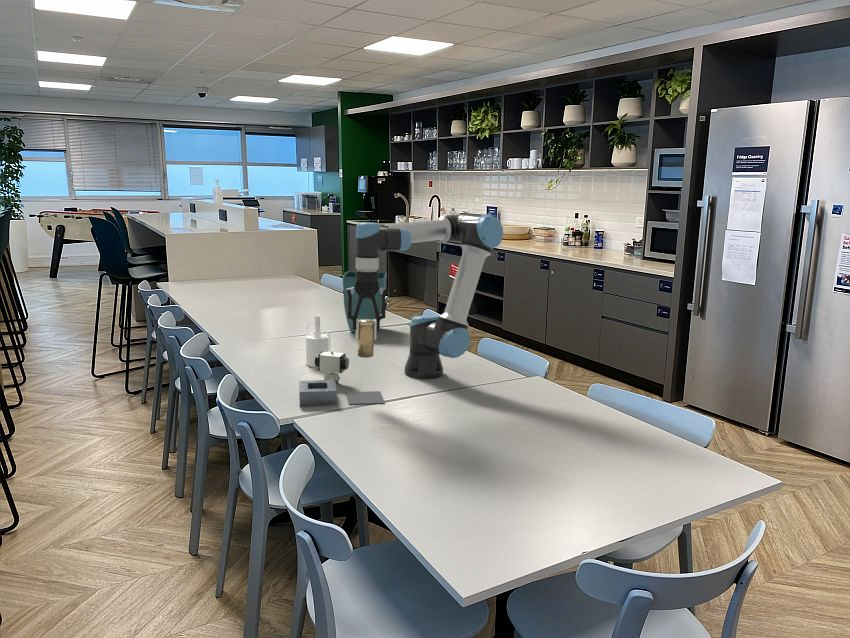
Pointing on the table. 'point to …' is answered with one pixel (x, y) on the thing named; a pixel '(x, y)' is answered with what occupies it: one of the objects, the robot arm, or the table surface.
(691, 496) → the table surface
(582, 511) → the table surface
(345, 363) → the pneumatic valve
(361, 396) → the mat
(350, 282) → the flower pot
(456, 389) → the table surface
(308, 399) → the block
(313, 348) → the white squeeze bottle
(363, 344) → the tan cylinder
